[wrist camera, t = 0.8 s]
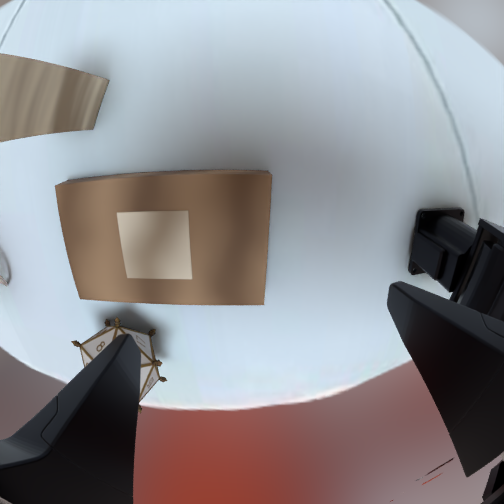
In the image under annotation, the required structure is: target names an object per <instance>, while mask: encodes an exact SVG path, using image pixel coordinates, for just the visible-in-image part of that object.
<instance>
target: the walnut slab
mask: <svg viewBox="0 0 504 504" xmlns="http://www.w3.org/2000/svg"><path fill="white" fill-rule="evenodd" d="M271 184H272V175H271V173H270V172H269V171H263V170H182V171H159V172H142V173H129V174H117V175H106V176H97V177H88V178H80V179H73V180H67V181H65V182H62V183H60V184H58V185H55V190H56V197H57V204H58V211H59V216H60V222H61V227H62V232H63V237H64V242H65V246H66V251H67V255H68V259H69V263H70V267H71V270H72V274H73V278H74V281H75V284H76V288H77V291H78V294H79V297H80V299H86V300H98V301H113V302H129V303H149V304H176V305H264V297H265V282H266V268H267V252H268V236H269V220H270V203H271Z"/></svg>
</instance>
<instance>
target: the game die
mask: <svg viewBox="0 0 504 504" xmlns="http://www.w3.org/2000/svg"><path fill="white" fill-rule="evenodd" d="M114 322H115V325H116V326H110V322H109V321H108V320H107V319H106V321H105V324H106V325H105V326H107V327H106V328H104V329H103V330H101V331H100V332H98V333H97V334H95V335H94V336H92V337H91V338H89V339H88V340H86V341H85V342H83V343H82V344H80V343H79V342H77V340H76V341H71V342H72V343H73V344H74V346H76V347H80V350H81V355H82V359H83V363H84V368H85V367H86V366H87V365H88V364H89V363H90V362H91V361H92V360H93V359H94V358H95V357H96V356H97V355H98V354H99V353H100V352H101V351H102V350H103V349H104V348H105V347H106V346H107V345H108V344H110V343H111V342H112V341H113V340H114V339H115V338H116V337H117V336H118V335H119V334H126V333H129V334H131V335H132V337H133V338H134V340H135V342H136V344H137V345H138V347H139V349H140V352H141V379H140V399H139V402H140V401H141V400H142V399H143V398H144V396H145V395H146V394H147V393H148V392H149V391H150V389H151V388H152V387H153V386H154V385H155V384H156V382H157V381H158V380H160V381H162V382H165V381H167V380H166V378H165V377H162V376H161V377H160V375H159V371H158V367H157V366H161V364H162V362H160V360H156V359H155V355H154V350H153V346H152V341H151V336H152V335H153V334H155V330H156V329H153V330H151V331H149V334H146V333H142V332H139V331H135V330H132V329H129V328H125V327H122V326H120V324H121V323H120V322H121V321H120V320H119V319H118V317H117V318H116V319H115V320H114ZM141 410H142V408H141V406H140V405H139V407H138V411H139V412H140V413H141Z"/></svg>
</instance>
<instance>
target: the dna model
mask: <svg viewBox="0 0 504 504" xmlns="http://www.w3.org/2000/svg"><path fill="white" fill-rule="evenodd" d="M0 283H2V284H4V285H5V286H7V285H8V284H7V282H6V281H5V280H4V279H3V277H2V276H0Z"/></svg>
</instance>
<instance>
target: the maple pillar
mask: <svg viewBox="0 0 504 504" xmlns="http://www.w3.org/2000/svg"><path fill="white" fill-rule="evenodd" d="M108 83H109V80H107V79H104V78H101V77H98V76H95V75H92V74H89V73H85V72H82V71H79V70H75V69H72V68H68V67H64V66H60V65H56V64H52V63H48V62H44V61H39V60H35V59H30V58H25V57H19V56H14V55H8V54H1V53H0V142H4V141H9V140H14V139H19V138H25V137H31V136H38V135H44V134H52V133H60V132H70V131H81V130H93V128H94V125H95V121H96V118H97V115H98V111H99V108H100V105H101V102H102V99H103V97H104V94H105V91H106V88H107V86H108Z"/></svg>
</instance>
